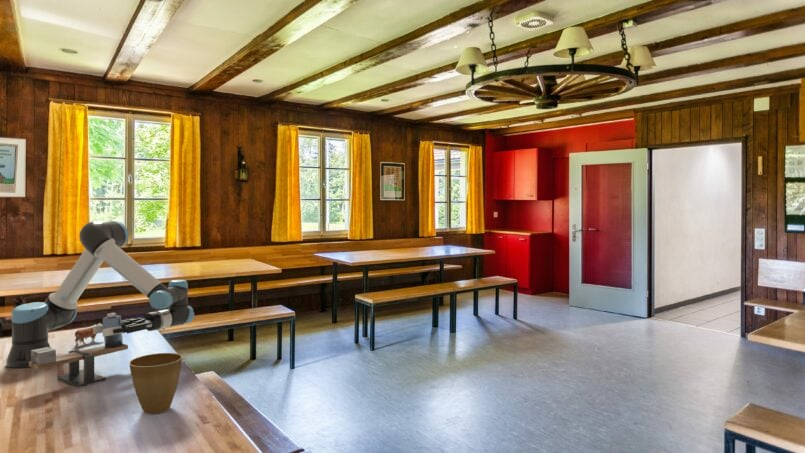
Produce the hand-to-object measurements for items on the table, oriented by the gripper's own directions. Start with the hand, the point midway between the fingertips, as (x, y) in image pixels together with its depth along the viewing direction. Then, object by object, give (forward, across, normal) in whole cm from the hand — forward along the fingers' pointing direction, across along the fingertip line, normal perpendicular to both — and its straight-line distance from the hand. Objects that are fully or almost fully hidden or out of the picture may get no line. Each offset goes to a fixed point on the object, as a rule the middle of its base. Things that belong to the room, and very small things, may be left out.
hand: (98, 331), depth 184 cm
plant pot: (+7, -48, -17) cm, 51 cm away
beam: (+6, 0, -9) cm, 10 cm away
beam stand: (+6, 0, -16) cm, 18 cm away
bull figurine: (-21, +50, -17) cm, 57 cm away
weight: (-6, 0, -6) cm, 9 cm away
